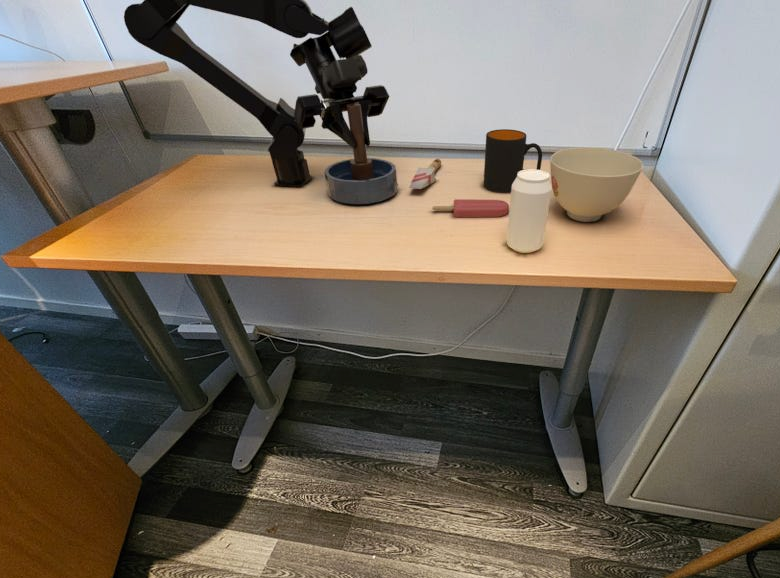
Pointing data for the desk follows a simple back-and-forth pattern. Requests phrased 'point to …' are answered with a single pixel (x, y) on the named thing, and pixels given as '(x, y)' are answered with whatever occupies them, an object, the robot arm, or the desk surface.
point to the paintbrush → (425, 175)
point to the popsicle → (477, 208)
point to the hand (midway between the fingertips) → (362, 146)
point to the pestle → (359, 145)
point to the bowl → (592, 180)
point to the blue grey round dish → (361, 182)
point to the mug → (505, 158)
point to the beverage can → (528, 210)
